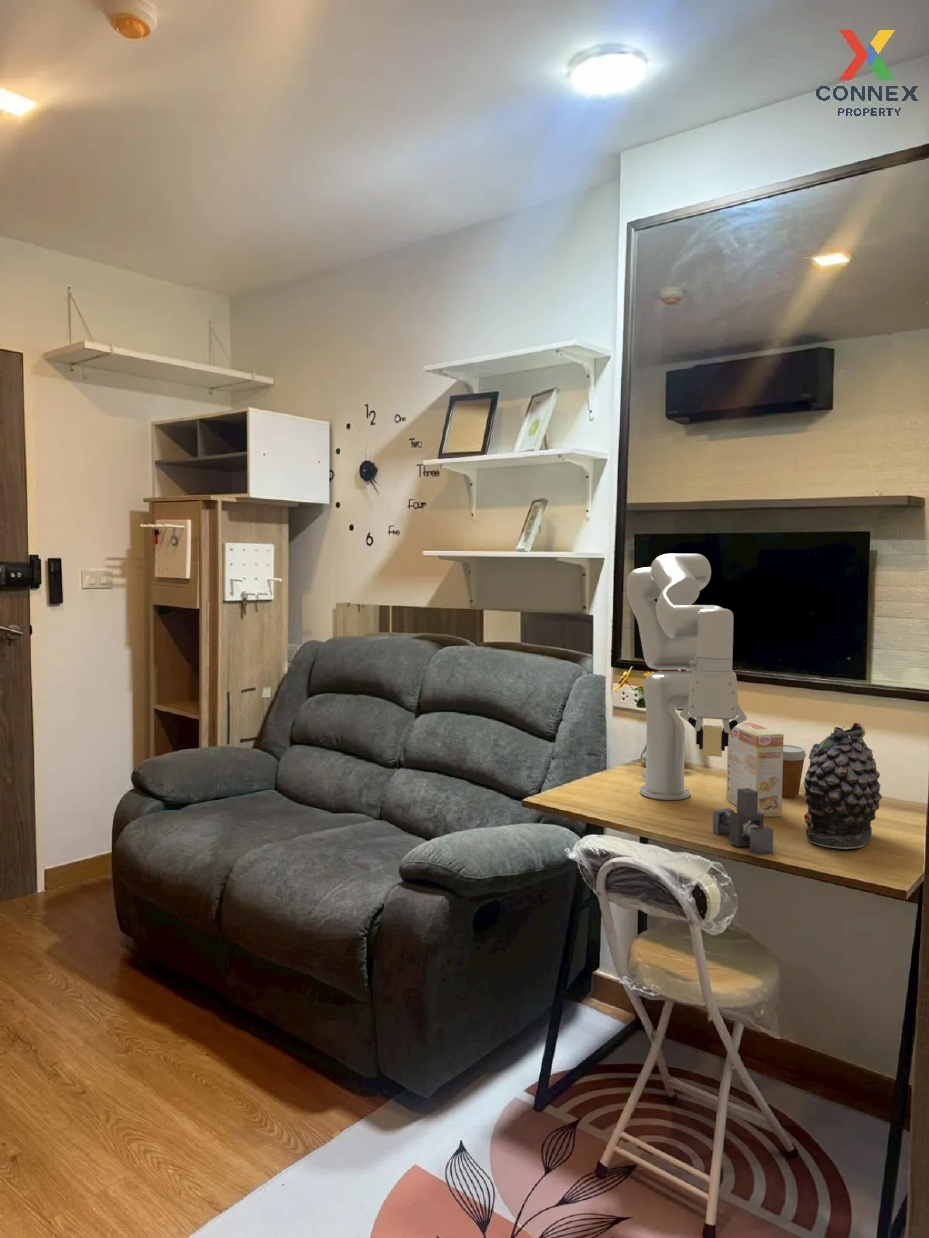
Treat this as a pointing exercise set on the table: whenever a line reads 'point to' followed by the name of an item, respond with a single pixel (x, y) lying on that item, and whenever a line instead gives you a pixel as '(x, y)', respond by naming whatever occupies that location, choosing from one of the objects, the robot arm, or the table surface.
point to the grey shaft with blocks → (745, 831)
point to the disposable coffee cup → (792, 770)
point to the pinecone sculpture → (841, 790)
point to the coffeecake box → (756, 766)
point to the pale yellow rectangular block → (712, 740)
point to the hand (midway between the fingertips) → (712, 747)
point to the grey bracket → (744, 816)
